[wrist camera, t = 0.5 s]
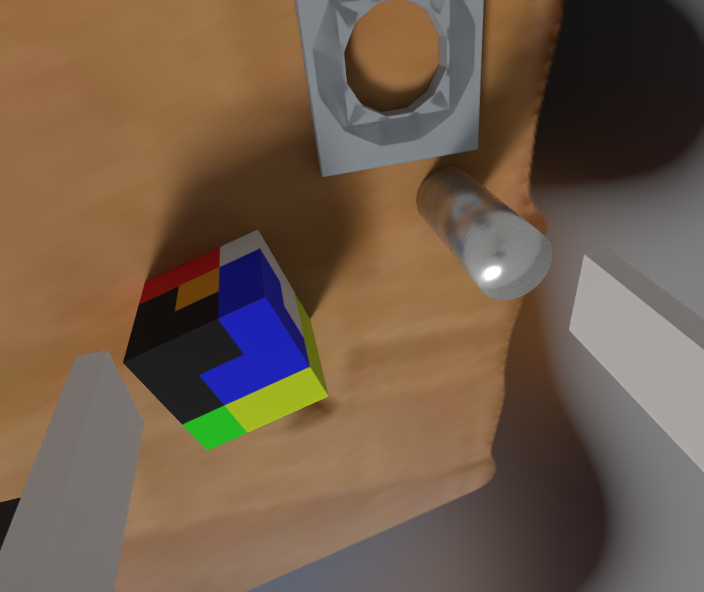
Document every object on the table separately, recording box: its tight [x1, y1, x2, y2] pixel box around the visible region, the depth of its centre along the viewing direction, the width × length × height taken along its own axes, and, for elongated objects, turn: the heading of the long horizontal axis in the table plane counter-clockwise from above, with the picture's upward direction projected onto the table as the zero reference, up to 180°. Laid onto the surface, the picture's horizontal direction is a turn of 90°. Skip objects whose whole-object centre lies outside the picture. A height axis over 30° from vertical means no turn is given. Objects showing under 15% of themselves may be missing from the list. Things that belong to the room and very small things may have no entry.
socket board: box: [295, 0, 484, 177], centre depth 33 cm, size 14×12×2 cm
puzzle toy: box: [123, 229, 328, 451], centre depth 38 cm, size 10×10×10 cm
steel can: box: [416, 166, 552, 300], centre depth 36 cm, size 5×5×12 cm
